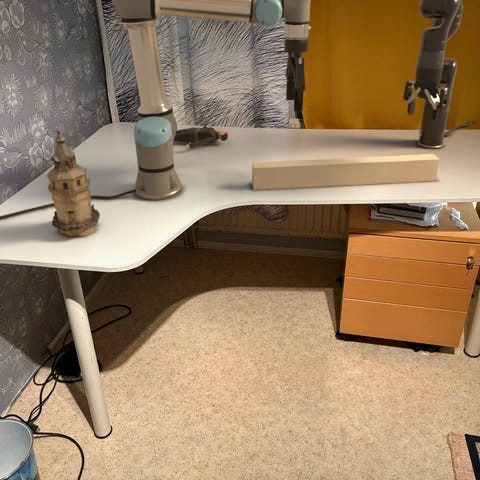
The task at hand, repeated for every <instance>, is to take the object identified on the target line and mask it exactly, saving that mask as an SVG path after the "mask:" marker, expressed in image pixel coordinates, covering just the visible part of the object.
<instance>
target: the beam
mask: <svg viewBox="0 0 480 480" xmlns="http://www.w3.org/2000/svg"><path fill="white" fill-rule="evenodd" d="M439 165H440V158H439V157H438V156H436V154H434V153H428V154H427V153H426V154H425V153H423V154H406V155H385V156H384V155H383V156H362V157H361V156H360V157H340V158H338V157H337V158H320V159H298V160H297V159H296V160H278V161H277V160H275V161H273V160H272V161H256V162H255V161H254V162H253V161H252V162H251V185H252V189H253V191H261V190H283V189H300V188H301V189H302V188H303V189H304V188H318V187H319V188H320V187H340V186H343V187H344V186H359V185H361V186H362V185H379V184H380V185H381V184H401V183H402V184H403V183H420V182H421V183H422V182H436V180H437V176H438V170H439Z"/></svg>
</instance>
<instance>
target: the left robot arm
mask: <svg viewBox="0 0 480 480" xmlns="http://www.w3.org/2000/svg"><path fill="white" fill-rule="evenodd" d="M311 1H312V0H111V2H112V6H114V8H115V10H116V11H117V12H119V16H120V22H121V24H122V25H123V26H124V27H125V28H127V32H128V38H129V44H130V49H131V55H132V60H133V66H134V72H135V78H136V84H137V89H138V95H139V100H140V106H139V107H138V108H137V115H138V121H136V122H135V124H134V125H133V138H134V143H135V154H136V160H137V175H136V179H135V184H134V189H131V190H128V191H124V192H121V193H119V194H115V195H90V197H91V199H103V200H111V199H118V198H121V197H123V196H126V195H129V194H132V193H135V195H136V196H137V197H138V198H141V199H143V200H148V201H161V200H168V199H171V198H174V197H176V196H178V195H179V194H180V193H181V192H182V183H181V180H180V177H179V176H178V173H177V171H176V169H175V161H174V160H175V159H174V158H175V157H174V142H173V141H174V138H175V135H176V131H177V130H178V124H177V121H176V120H177V119H176V118H175V115H174V109H173V105H172V104H171V103H170V102H169V101H168V100H167V99H168V98H167V93H166V87H165V81H164V74H163V67H162V61H161V55H160V53H161V52H160V46H159V42H158V41H159V40H158V34H157V27H156V25H157V24H158V22H159V20H160V18H161V17H162V16H167V17H178V18H188V19H189V18H192V19H202V20H214V21H215V20H216V21H227V22H238V23H241V22H242V23H251V24H258V25H259V24H260V25H263V26H266V27H271V26H275V25H277V24H278V23H279V22H280V20H281V19H284V38H285V39H284V43H283V46H284V47H283V48H284V51H285V53H287V60H286V61H287V62H286V67H285V68H286V69H285V73H284V75H285V77H286V91H285V92H286V94H285V100H286V101H293V111H294V112H303V108H304V107H303V106H304V105H303V104H304V91H306V78H305V77H306V75H305V57H302V54H303V53H306V52H308V51H309V38H308V37H309V33H310V30H311V26H310V15H311ZM50 207H55V205H54V202H52V203H47V204H43V205H39V206H35V207H31V208H27V209H24V210H19V211H15V212H11V213H6V214H3V215H0V220H2V219H5V218H10V217H13V216H18V215H21V214H26V213H29V212H34V211H37V210H40V209H41V210H42V209H46V208H50Z"/></svg>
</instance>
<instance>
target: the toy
mask: <svg viewBox="0 0 480 480" xmlns="http://www.w3.org/2000/svg"><path fill="white" fill-rule="evenodd" d="M228 138H229V134H228V132H227V131H226V130H218V131H217V130H216V129H215V128H214V127H212V126H209V127H208V126H207V125H206V124H203V125H202V127H189V128H188V127H187V128H182V129H177V131H176V135H175V138H174V141H173V143H188V144H186V145H185V146H184V148H185V149H187V150H191V149H194V148H196V147H198V146H199V147H200V146H202V145H206V146H207V145H208V146H211V145H216V143H217V142H218V140H219V141H220V142H221V141H222V142H224V141H225V142H226V141H227V140H229V139H228Z"/></svg>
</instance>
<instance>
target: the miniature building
mask: <svg viewBox="0 0 480 480" xmlns="http://www.w3.org/2000/svg"><path fill="white" fill-rule="evenodd" d="M56 134H57V136H56V138H55V140H54V141H55V142H56V147H55V154H54V156H52V157H51V161H52V162H53V165H54V167H53V168H51V169H50V170H49V171H48V173H47V174H46V178H47V179H48V182H49V184H48V186H47V190H48V191H49V193H50V194H51V200H52V201H53V203H54V205H55V206H54V209H55V211H53V217H52V220H51V223H52V225H51V227H54V228H56V229H58V230H59V231H60V234H63V235H64V234H65V235H66V236H69V237H77V236H80V237H83V236H87V235H88V234H90V233H93V232H94V231H95V229H96V226H97V225H98V223H99V220H100V216H101V213H100V212H99V210H98V209H96V208H95V204H92V201H91V200H92V198H91V197H90V196H91V192H92V191H91V188H90V184H91V178H89V177H88V174H87V167H85V166H84V165H83V166H82V165H80V164H77V160H76V154H75V151H74V150H70V149H69V147H68V145H67V143H66V138H65V137H64V136H63V135H61V130H60V129H56Z"/></svg>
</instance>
